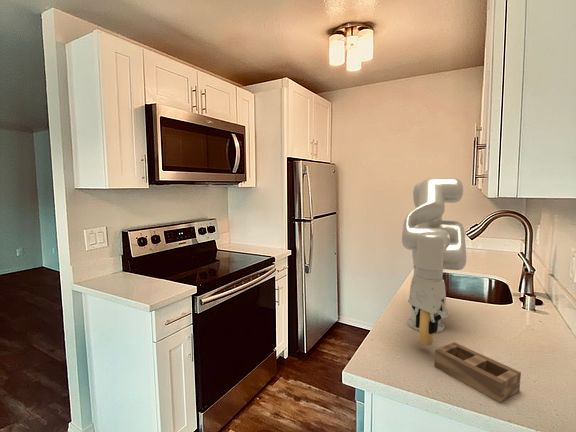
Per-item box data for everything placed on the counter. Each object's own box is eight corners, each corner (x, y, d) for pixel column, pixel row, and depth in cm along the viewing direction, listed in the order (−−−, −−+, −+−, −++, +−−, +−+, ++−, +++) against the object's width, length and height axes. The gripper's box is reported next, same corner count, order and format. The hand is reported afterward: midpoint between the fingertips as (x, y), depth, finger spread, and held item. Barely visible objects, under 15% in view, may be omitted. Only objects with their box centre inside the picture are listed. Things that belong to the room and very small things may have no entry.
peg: (424, 337, 106) (426, 302, 104) (435, 343, 103) (437, 306, 101) (415, 341, 104) (417, 304, 102) (426, 346, 101) (428, 309, 99)
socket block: (453, 358, 99) (454, 342, 99) (519, 390, 84) (520, 372, 83) (434, 366, 95) (435, 349, 94) (500, 402, 79) (501, 383, 79)
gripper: (398, 268, 106) (396, 322, 108) (446, 283, 91) (442, 345, 94) (414, 264, 109) (412, 316, 112) (462, 278, 95) (458, 338, 97)
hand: (426, 329), depth 103 cm, fingers closed on peg, 4 cm apart
